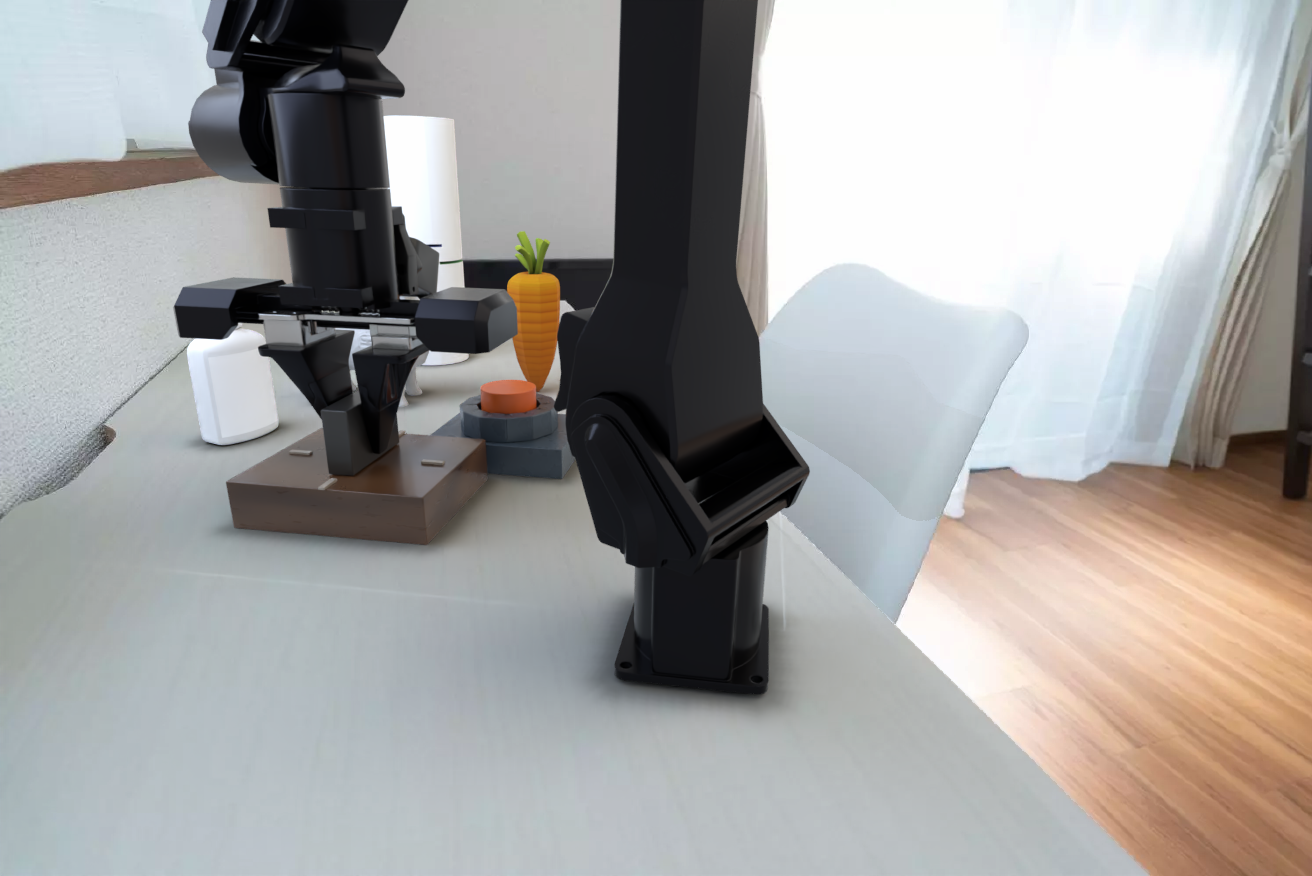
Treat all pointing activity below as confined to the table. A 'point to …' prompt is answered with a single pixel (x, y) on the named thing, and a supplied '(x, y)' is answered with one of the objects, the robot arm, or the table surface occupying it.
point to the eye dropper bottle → (232, 387)
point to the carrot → (535, 312)
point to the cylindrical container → (428, 195)
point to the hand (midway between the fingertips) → (365, 450)
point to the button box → (516, 438)
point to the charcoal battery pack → (349, 437)
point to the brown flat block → (361, 490)
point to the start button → (508, 396)
